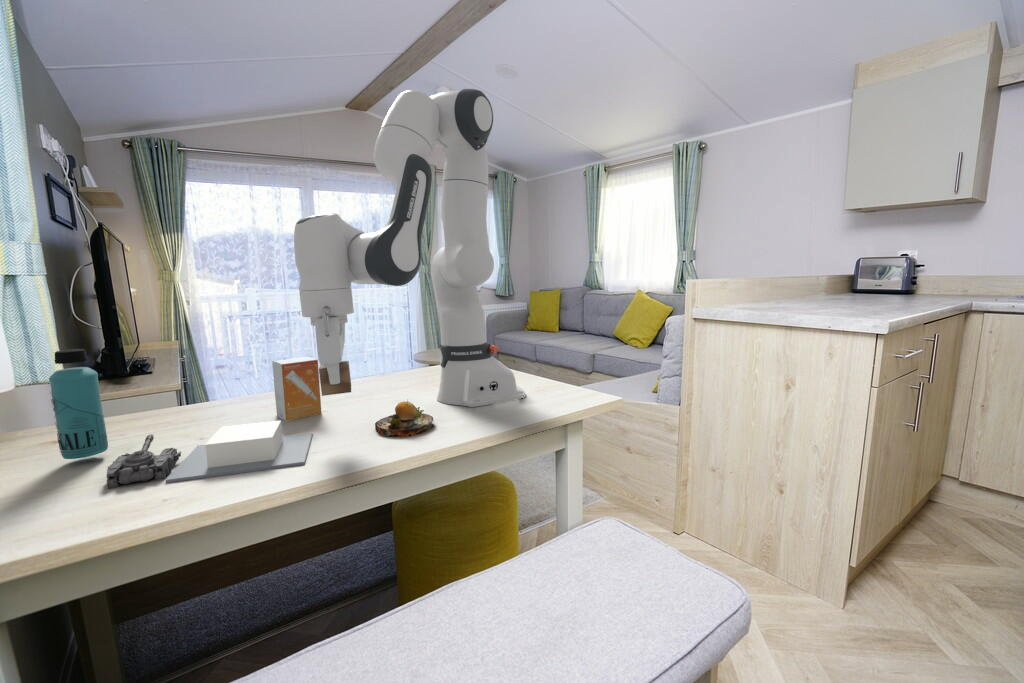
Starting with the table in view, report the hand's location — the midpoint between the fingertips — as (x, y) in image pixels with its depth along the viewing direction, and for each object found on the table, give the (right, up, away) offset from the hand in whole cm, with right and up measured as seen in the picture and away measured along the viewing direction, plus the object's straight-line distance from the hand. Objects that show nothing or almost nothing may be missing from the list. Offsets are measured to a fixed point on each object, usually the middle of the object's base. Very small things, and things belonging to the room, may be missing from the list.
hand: (336, 379), depth 87 cm
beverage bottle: (-43, -14, -4) cm, 45 cm away
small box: (-16, -10, +21) cm, 29 cm away
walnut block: (0, -2, 0) cm, 2 cm away
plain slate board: (-14, -13, -3) cm, 20 cm away
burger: (+10, -11, +11) cm, 19 cm away
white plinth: (-14, -13, -3) cm, 20 cm away
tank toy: (-28, -15, -9) cm, 33 cm away
